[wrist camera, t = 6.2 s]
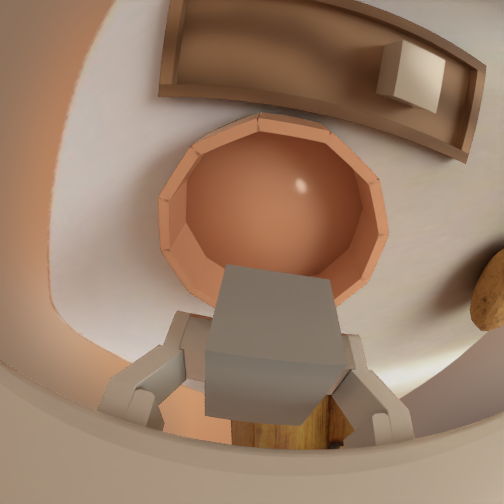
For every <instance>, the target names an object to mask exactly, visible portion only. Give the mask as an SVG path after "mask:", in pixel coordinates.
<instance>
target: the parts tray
mask: <svg viewBox="0 0 504 504" xmlns="http://www.w3.org/2000/svg"><path fill="white" fill-rule="evenodd" d="M400 40H405V41H407V42H409V43H412V44H414V45H416V46H418V47H420V48H422V49H424V50H426V51H428V52H430V53H432V54H434V55H436V56H438V57H440V58H442V59H444V60H445V67H444V74H443V80H442V86H441V91H440V97H439V102H438V106H437V111H436V114H435V113H432V112H428V111H424V110H421V109H417V108H413V107H411V106H408V105H406V104H403V103H401V102H398V101H395V100H393V99H390V98H387V97H384V96H381V95H378V94H376V89H377V84H378V79H379V73H380V67H381V61H382V55H383V49H384V45H386V44H389V43H393V42H396V41H400ZM485 73H486V65H484V64H483V63H481V62H480V61H479V60H477V59H476V58H474V57H473V56H471V55H470V54H468V53H467V52H465V51H464V50H462V49H460V48H459V47H457V46H456V45H454V44H452V43H451V42H449V41H447V40H445V39H444V38H442V37H440V36H438V35H436V34H434V33H433V32H431V31H429V30H427V29H425V28H423V27H421V26H419V25H417V24H415V23H412V22H410V21H408V20H406V19H403V18H401V17H399V16H396V15H394V14H392V13H389V12H387V11H384V10H381V9H379V8H376V7H373V6H370V5H367V4H364V3H361V2H358V1H355V0H171V2H170V7H169V13H168V18H167V25H166V31H165V38H164V45H163V53H162V62H161V71H160V82H159V94H158V97H197V98H214V99H226V100H237V101H246V102H254V103H261V104H268V105H275V106H281V107H287V108H293V109H298V110H303V111H308V112H313V113H318V114H322V115H326V116H331V117H335V118H339V119H343V120H347V121H350V122H354V123H358V124H361V125H365V126H368V127H372V128H375V129H378V130H381V131H384V132H387V133H390V134H393V135H396V136H399V137H402V138H405V139H408V140H410V141H413V142H416V143H418V144H421V145H423V146H426V147H428V148H431V149H433V150H436V151H438V152H440V153H443V154H445V155H447V156H450V157H452V158H454V159H456V160H458V161H461V162H463V163H465V164H466V162H467V158H468V155H469V151H470V148H471V144H472V141H473V137H474V133H475V129H476V124H477V120H478V115H479V110H480V105H481V100H482V94H483V88H484V81H485Z"/></svg>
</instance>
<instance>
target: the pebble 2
mask: <svg viewBox="0 0 504 504" xmlns="http://www.w3.org/2000/svg"><path fill="white" fill-rule="evenodd" d="M444 67H445V60H444V59H442V58H440V57H438V56H436V55H434V54H432V53H430V52H428V51H426V50H424V49H422V48H420V47H418V46H416V45H414V44H412V43H409V42H407V41H405V40H400V41H396V42H393V43H389V44H386V45H384V49H383V55H382V61H381V67H380V73H379V79H378V84H377V89H376V94H378V95H381V96H384V97H387V98H390V99H393V100H395V101H398V102H401V103H403V104H406V105H408V106H411V107H413V108H417V109H421V110H424V111H428V112H432V113H435V114H436V111H437V106H438V102H439V97H440V91H441V86H442V80H443V74H444Z"/></svg>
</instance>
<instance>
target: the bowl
mask: <svg viewBox="0 0 504 504" xmlns="http://www.w3.org/2000/svg"><path fill="white" fill-rule="evenodd" d="M158 212H159V234H160V250H161V252H162V254H163V255H164V257H165V258H166V260H167V261H168V263H169V264H170V266H171V267H172V269H173V270H174V272H175V273H176V275H177V276H178V278H179V279H180V281H181V282H182V284H183V285H184V286H185V288H186V289H187V291H189V293H191V294H192V295H194V296H196V297H197V298H199V299H201V300H203V301H204V302H206V303H208V304H209V305H211V306H213V307H214V308H215V307H216V303H217V299H218V295H219V291H220V287H221V283H222V279H223V275H224V271H225V267H226V264H230V265H236V266H242V267H249V268H255V269H262V270H269V271H275V272H282V273H289V274H295V275H302V276H309V277H316V278H323V279H329V280H330V284H331V288H332V293H333V297H334V302H335V306H336V307H337V306H338V305H339V304H341V303H342V302H343V301H345V300H346V299H347V298H349V297H350V296H351V295H352V294H354V293H355V292H356V291H358V290H359V289H360V288H361V287H363V286H364V285H365V284H366V283H367V282H368V281H369V280H370V277H371V275H372V273H373V271H374V269H375V267H376V264H377V262H378V260H379V257H380V255H381V253H382V250H383V248H384V246H385V243H386V241H387V238H388V236H389V235H388V234H389V231H388V224H387V218H386V212H385V206H384V200H383V195H382V190H381V185H380V180H379V179H378V177H377V176H376V175H375V174H374V173H373V172H372V171H371V169H370V168H369V167H368V166H367V165H366V164H365V163H364V162H363V161H362V160H361V159H360V158H359V157H358V156H357V155H356V154H355V153H354V152H353V151H352V150H351V149H350V148H349V147H347V146H346V145H345V144H344V143H343V142H342V141H341V140H340V139H339V138H338V137H337V136H336V135H335V134H334V133H332V132H331V131H330V130H329V129H328V128H326V127H325V126H324V125H323V124H321V123H319V122H316V121H311V120H306V119H303V118H299V117H295V116H291V115H282V114H272V113H266V112H262V113H260V112H259V113H256V114H254V115H251V116H248V117H246V118H243V119H240V120H237V121H234V122H232V123H230V124H228V125H226V126H224V127H222V128H219V129H217V130H215V131H212V132H210V133H208V134H207V135H205V136H204V137H202V138H201V139H200V140H198V141H197V142H196V143H194V144H193V145H192V146H191V147H190V148H189V149H188V151H187V152H186V154H185V155H184V157H183V158H182V160H181V161H180V163H179V165H178V166H177V168H176V169H175V171H174V172H173V174H172V176H171V177H170V179H169V180H168V182H167V184H166V185H165V187H164V189H163V190H162V192H161V193H160V195H159V198H158Z"/></svg>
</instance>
